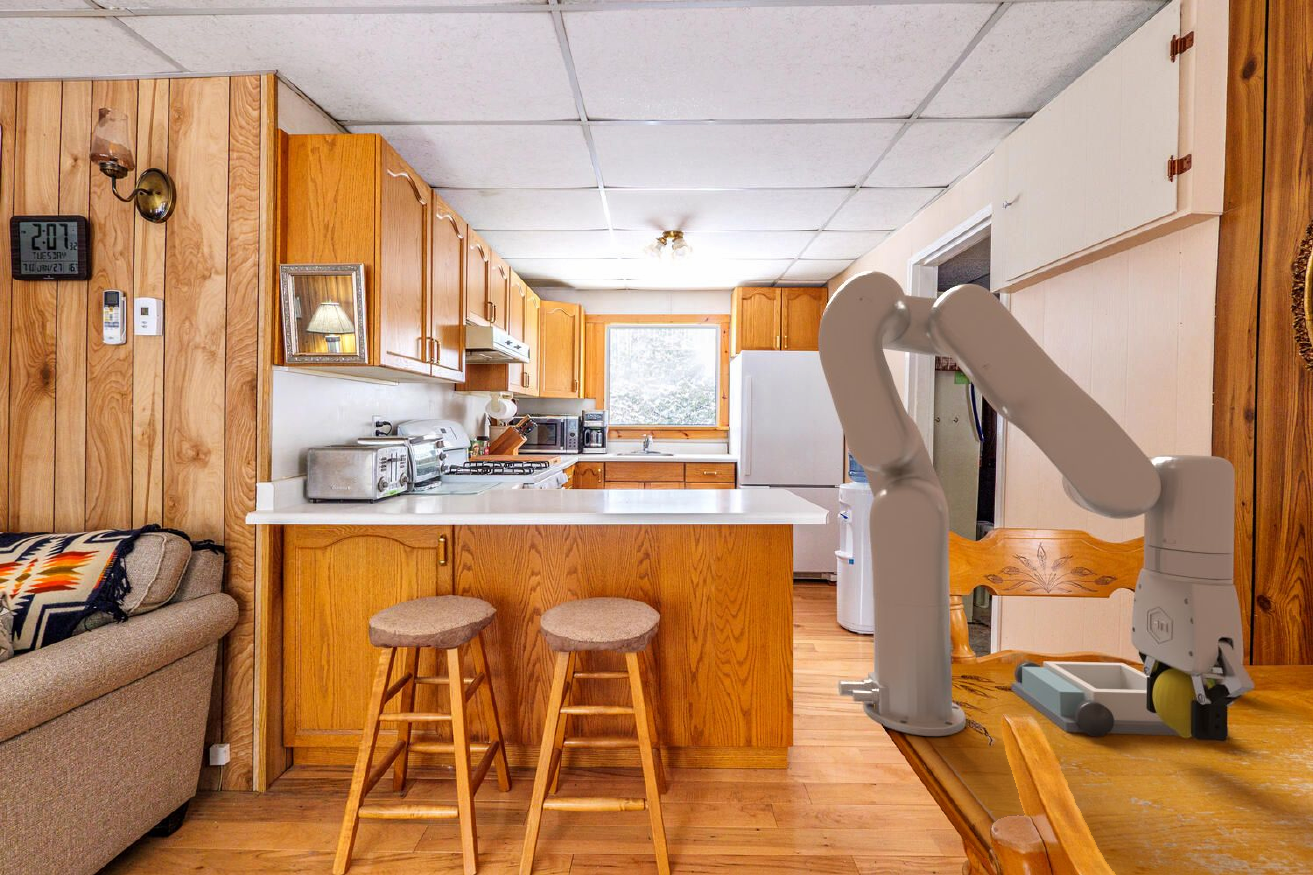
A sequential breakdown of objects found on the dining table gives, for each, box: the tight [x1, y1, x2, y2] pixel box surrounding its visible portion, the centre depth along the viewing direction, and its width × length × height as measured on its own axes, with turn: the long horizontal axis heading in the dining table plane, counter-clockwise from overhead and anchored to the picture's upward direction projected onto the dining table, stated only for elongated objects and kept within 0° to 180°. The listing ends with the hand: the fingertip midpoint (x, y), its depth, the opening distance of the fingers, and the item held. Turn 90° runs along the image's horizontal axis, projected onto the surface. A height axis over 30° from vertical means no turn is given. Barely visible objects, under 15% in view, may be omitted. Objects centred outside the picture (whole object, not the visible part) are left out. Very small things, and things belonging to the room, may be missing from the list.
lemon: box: [1153, 668, 1212, 739], centre depth 66 cm, size 6×6×8 cm
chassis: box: [1011, 660, 1230, 738], centre depth 79 cm, size 19×15×5 cm
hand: (1184, 723), depth 66 cm, fingers closed on lemon, 5 cm apart
